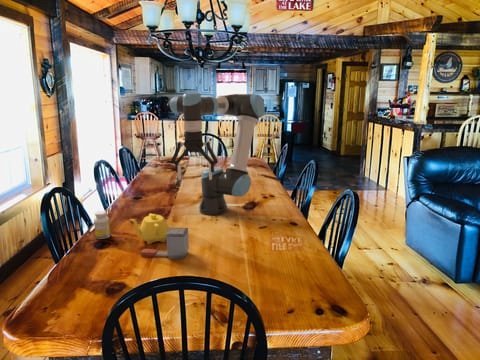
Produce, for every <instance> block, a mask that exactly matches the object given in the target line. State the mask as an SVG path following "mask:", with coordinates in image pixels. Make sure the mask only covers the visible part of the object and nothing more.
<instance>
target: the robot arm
mask: <svg viewBox="0 0 480 360" xmlns="http://www.w3.org/2000/svg"><path fill="white" fill-rule="evenodd" d="M265 106H266V105H265V102H264V99H263V97H262V96H261V95H259V94H256V93H255V94H254V93H250V94H249V93H247V94H246V93H245V94H244V93H234V94H233V93H232V94H227V95H226V94H225V95H219V96H217V97H215V96H214V97H213V96H201V93H199V92H191V93H190V92H189V93H187V92H186V93H184V94H183V95H182V96H174V97H171V99H170V102H169V109H170V110H171V112H172V113H174V114H178V115H179V114H181V115H182V114H183V129H184V136H183V137H184V142H183V141H177V142H176V143H177V144H176V148H175V151H174V154H173V155H172V158H171V160H170V164H174V167H175V173H177V180H178V181H179V180H181V179H182V164H181V161H182V160H183V158H185V157H186V155H187V154H188V152H189V153H191V154H192V153H197V154H198V153H199V154H201V155H202V157H204V159H205V160H206V161H207V162H208V168H207V169H204V170H203V171H201V176H200V177H201V178H200V179H201V180H200V181H201V195H202V197H201V200H200V204H199V207H198V208H199V213H200V214H202V215H203V214H204V215H207V216H217V215H221V214H224V213H226V212H228V205H227V201H226V199H225V196H224V195H226V196H232V197H239V198H241V197H244V196H246V195H247V194H248V192H249V191H250V188H251V184H252V178H251V176H250V175H249V171H248V169H247V166H248V161H249V155H250V152H251V151H250V150H251V146H252V140H253V137H254V136H253V135H254V131H255V130H254V129H255V125H256V124H257V123H259V118H262V117H263V116H264V115H265V111H266V109H265V108H266V107H265ZM215 113H216V114H218V115H227V116H233V117H236V119H237V122H238V124H237V127H236V133H235V138H234V142H233V149H232V153H231V159H230V165H228V166H227V167H226V170H224V169H223V168H222V167H215V165H216V164H218V162H219V160H218V158H217V156H216V154H215V152H214V149H212V147H211V141H206V142H204V141H203V131H202V130H203V120H202V118H203V117H202V116H204V115H213V114H215ZM183 146H184V148H185V150H184V151H183V152H182V153H181V155H180V156H179V157H178V155H179V153H180V151H181V149H182V147H183ZM204 146H205V148H206V149H207V151H208V153H209V155H208V154H207V153H206V151H205V149H204V148H203V147H204Z"/></svg>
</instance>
